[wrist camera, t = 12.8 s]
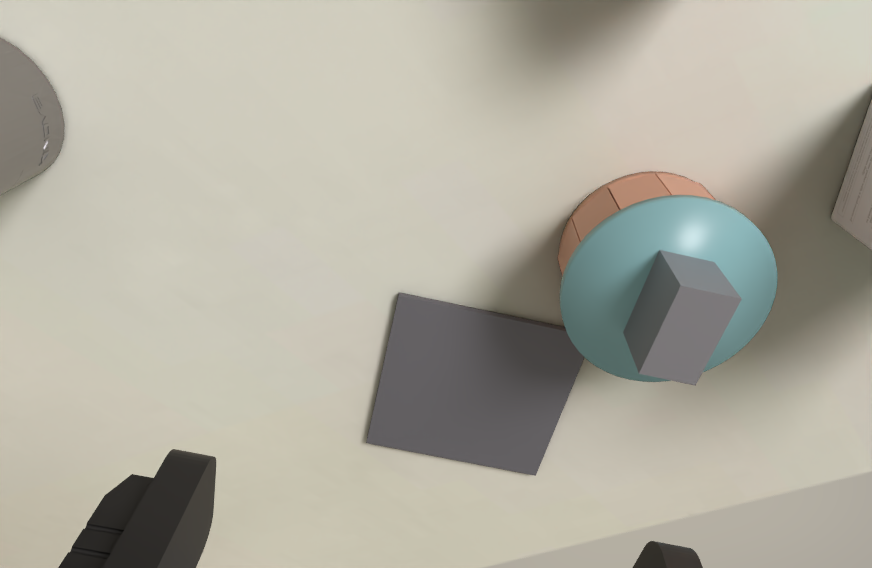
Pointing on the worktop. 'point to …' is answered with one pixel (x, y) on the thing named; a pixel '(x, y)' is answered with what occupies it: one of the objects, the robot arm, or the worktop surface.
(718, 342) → the lid
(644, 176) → the bowl
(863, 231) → the supplement box
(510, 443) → the mat
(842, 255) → the worktop surface
